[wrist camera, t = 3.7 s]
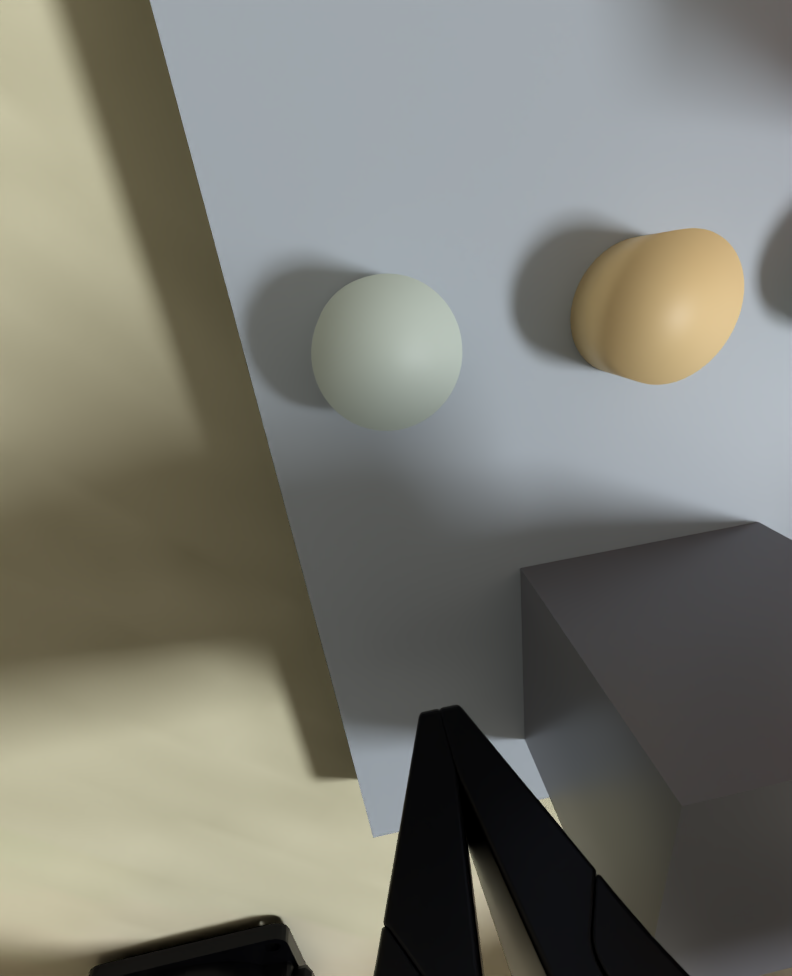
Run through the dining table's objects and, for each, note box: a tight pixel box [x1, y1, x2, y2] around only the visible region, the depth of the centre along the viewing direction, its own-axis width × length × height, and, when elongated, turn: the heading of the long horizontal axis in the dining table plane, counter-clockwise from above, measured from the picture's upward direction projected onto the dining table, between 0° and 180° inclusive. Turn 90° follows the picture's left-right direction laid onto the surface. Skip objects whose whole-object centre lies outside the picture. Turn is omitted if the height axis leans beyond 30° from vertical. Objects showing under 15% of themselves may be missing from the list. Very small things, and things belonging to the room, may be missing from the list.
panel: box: [150, 0, 792, 838], centre depth 8 cm, size 16×19×4 cm
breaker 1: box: [520, 522, 792, 976], centre depth 8 cm, size 5×5×4 cm
